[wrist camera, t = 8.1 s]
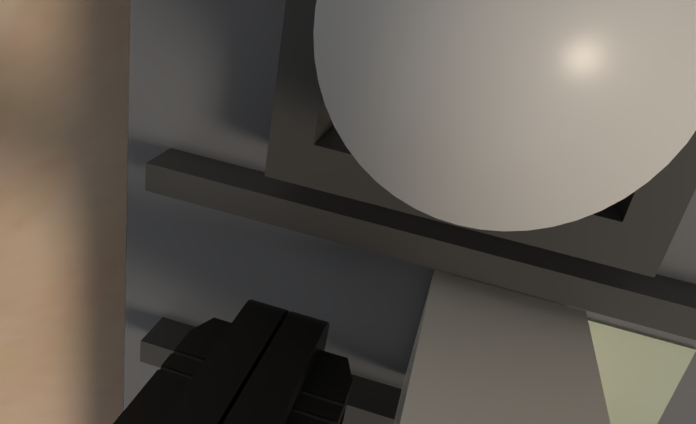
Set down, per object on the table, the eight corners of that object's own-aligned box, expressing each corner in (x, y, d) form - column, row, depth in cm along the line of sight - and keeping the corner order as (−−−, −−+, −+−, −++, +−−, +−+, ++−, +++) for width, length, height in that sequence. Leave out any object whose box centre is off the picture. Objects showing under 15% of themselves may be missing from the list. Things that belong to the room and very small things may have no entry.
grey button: (390, -179, 8) (349, -223, 6) (734, -120, 8) (823, -148, 5) (336, 131, 10) (290, 181, 8) (607, 198, 9) (637, 271, 7)
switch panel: (218, -310, 12) (74, -439, 8) (1005, -198, 10) (1335, -294, 6) (169, 472, 21) (91, 592, 17) (568, 608, 20) (585, 779, 16)
